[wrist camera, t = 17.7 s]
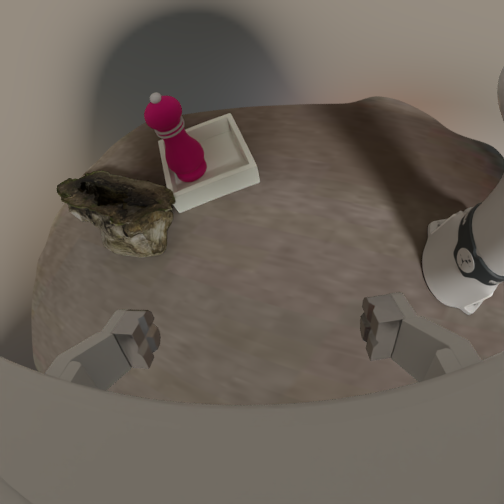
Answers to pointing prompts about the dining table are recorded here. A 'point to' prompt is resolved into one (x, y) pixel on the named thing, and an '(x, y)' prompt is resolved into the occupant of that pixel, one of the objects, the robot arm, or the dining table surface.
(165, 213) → the hollow geode rock
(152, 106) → the pepper mill
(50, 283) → the dining table surface
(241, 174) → the tray
